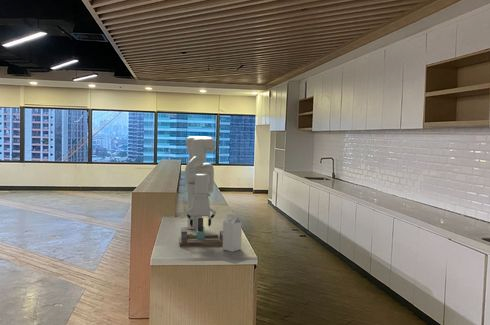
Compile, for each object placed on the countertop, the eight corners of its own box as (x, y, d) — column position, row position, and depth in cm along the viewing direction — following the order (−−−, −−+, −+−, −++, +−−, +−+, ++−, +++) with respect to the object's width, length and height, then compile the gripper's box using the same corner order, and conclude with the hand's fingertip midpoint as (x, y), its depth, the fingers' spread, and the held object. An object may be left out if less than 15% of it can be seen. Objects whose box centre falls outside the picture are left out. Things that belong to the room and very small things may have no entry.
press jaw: (196, 237, 251) (196, 217, 250) (203, 237, 251) (203, 217, 251) (197, 240, 244) (197, 219, 243) (204, 240, 245) (204, 219, 244)
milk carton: (231, 247, 242) (231, 212, 240) (241, 249, 237) (242, 214, 236) (222, 249, 236) (223, 214, 235) (232, 252, 232) (233, 216, 231)
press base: (179, 241, 252) (179, 227, 251) (222, 240, 256) (223, 226, 255) (179, 246, 240) (179, 231, 240) (225, 245, 244) (225, 231, 244)
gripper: (215, 195, 251) (215, 224, 252) (185, 194, 248) (184, 224, 249) (217, 196, 244) (216, 227, 245) (185, 196, 241) (185, 227, 242)
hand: (200, 226), depth 247 cm, fingers open, 9 cm apart
